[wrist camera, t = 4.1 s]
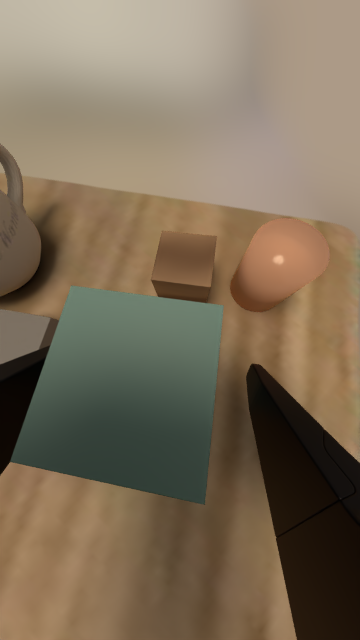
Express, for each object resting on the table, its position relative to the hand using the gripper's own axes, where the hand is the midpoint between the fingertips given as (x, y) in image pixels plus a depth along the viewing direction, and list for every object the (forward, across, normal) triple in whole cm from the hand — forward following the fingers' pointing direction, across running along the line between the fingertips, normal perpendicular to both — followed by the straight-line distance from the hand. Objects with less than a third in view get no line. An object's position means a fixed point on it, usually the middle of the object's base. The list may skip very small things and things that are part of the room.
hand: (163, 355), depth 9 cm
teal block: (+4, 0, +5) cm, 7 cm away
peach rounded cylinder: (+11, -7, -1) cm, 13 cm away
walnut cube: (+10, 0, -1) cm, 10 cm away
